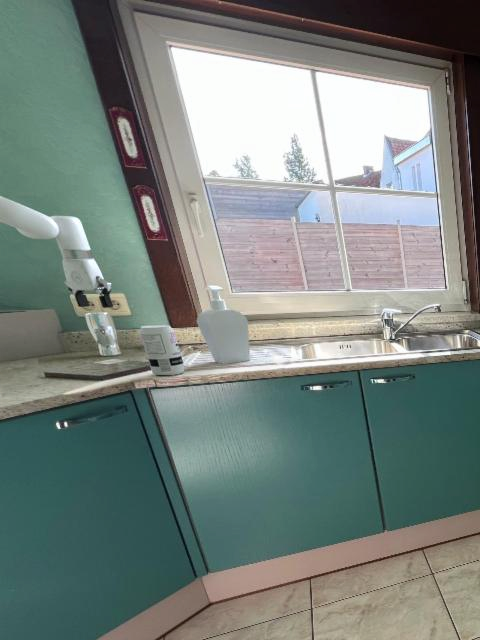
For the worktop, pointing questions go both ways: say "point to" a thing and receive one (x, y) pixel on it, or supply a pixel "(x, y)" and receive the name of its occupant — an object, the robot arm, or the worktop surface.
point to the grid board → (101, 370)
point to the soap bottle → (224, 330)
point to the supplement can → (162, 349)
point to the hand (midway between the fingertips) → (96, 307)
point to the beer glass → (103, 332)
